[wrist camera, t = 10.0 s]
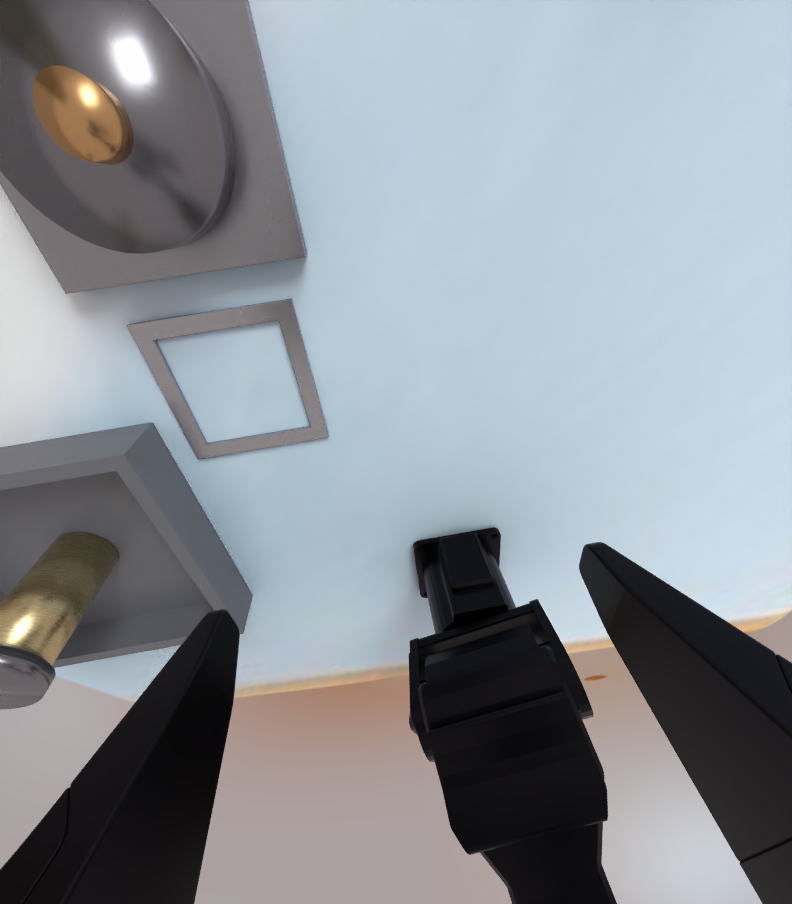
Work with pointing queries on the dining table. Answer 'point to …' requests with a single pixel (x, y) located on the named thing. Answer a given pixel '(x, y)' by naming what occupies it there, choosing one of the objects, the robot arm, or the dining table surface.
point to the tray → (119, 538)
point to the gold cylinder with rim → (48, 612)
